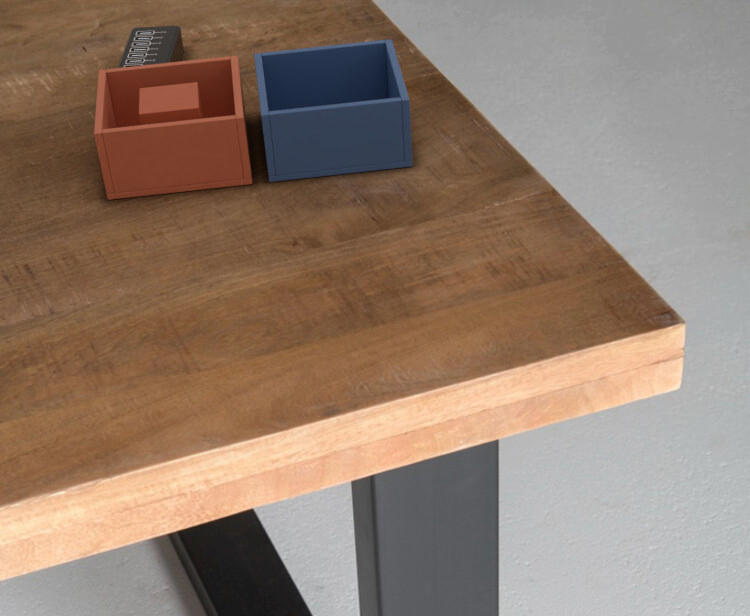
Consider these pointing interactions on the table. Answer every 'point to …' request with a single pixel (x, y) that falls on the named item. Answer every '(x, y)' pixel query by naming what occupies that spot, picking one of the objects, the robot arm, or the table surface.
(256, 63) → the blue bin
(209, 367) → the table surface
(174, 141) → the terracotta bin
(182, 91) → the terracotta block
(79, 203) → the table surface
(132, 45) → the multiport hub
